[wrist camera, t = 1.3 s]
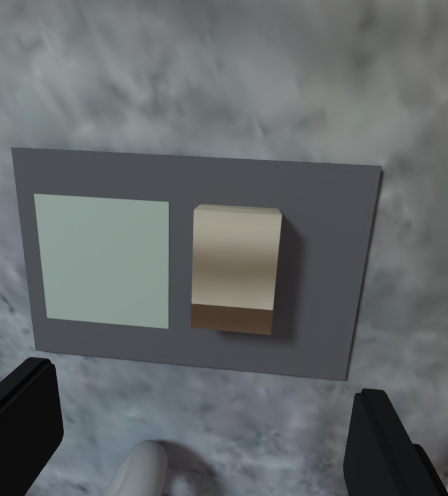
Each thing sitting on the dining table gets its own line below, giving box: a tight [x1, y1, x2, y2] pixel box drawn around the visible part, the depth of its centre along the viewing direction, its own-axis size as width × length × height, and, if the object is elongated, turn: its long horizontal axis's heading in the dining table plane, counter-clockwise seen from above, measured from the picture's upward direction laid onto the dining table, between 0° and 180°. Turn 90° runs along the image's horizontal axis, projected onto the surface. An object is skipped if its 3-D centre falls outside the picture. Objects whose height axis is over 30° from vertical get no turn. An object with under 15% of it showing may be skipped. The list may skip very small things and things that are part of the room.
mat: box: [11, 147, 382, 381], centre depth 27 cm, size 18×28×1 cm, turn 87°
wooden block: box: [191, 204, 282, 335], centre depth 25 cm, size 9×6×3 cm
